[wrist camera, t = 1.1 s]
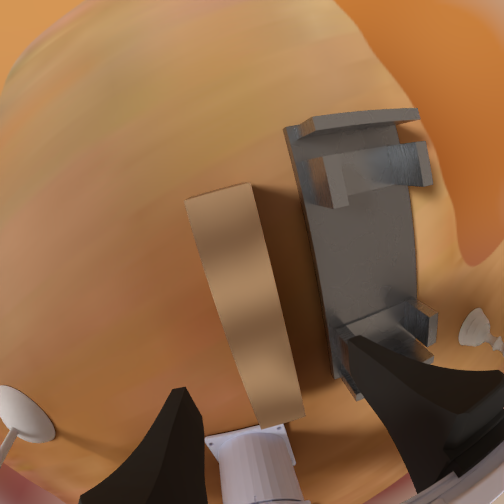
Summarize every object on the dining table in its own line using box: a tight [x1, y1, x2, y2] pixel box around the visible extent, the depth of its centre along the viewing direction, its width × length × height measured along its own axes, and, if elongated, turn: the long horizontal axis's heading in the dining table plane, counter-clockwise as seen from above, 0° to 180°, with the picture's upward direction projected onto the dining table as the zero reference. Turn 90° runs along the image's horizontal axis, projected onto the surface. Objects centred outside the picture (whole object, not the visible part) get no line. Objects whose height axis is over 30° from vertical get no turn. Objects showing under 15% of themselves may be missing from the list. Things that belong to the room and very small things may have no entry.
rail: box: [184, 183, 306, 430], centre depth 19 cm, size 17×4×5 cm, turn 14°
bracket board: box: [283, 108, 438, 401], centre depth 19 cm, size 21×9×4 cm, turn 14°
